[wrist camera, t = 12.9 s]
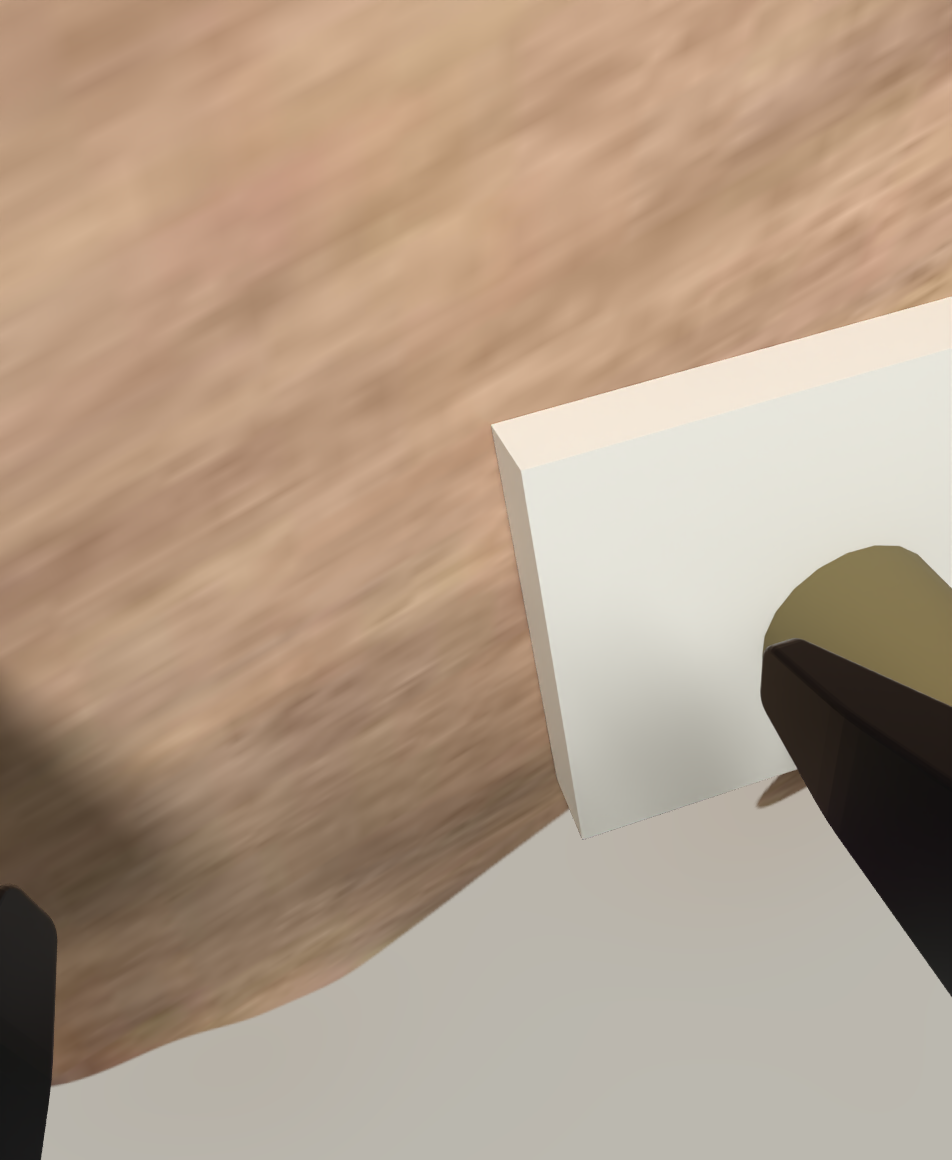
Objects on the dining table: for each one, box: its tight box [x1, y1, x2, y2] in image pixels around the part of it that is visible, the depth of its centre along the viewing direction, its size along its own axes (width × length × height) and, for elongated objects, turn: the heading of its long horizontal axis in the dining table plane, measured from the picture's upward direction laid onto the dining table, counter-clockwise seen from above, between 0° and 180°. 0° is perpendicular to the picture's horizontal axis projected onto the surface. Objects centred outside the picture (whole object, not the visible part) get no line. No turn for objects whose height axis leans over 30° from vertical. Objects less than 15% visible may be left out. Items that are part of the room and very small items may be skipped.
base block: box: [491, 296, 952, 840], centre depth 25 cm, size 16×16×3 cm
